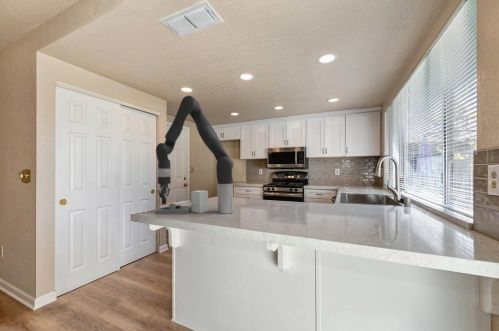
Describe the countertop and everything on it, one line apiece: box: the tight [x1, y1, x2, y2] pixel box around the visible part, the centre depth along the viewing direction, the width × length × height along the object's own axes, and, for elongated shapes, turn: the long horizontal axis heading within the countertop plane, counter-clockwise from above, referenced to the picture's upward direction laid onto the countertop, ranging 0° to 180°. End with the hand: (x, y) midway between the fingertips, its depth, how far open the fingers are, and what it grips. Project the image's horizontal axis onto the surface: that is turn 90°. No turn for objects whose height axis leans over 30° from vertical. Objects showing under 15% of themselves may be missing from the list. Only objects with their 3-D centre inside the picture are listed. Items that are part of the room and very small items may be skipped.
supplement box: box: [190, 189, 209, 214], centre depth 132 cm, size 7×7×13 cm
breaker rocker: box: [159, 199, 191, 208], centre depth 133 cm, size 16×8×1 cm, turn 89°
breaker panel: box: [155, 200, 191, 215], centre depth 133 cm, size 18×12×6 cm, turn 89°
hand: (164, 204), depth 133 cm, fingers closed
